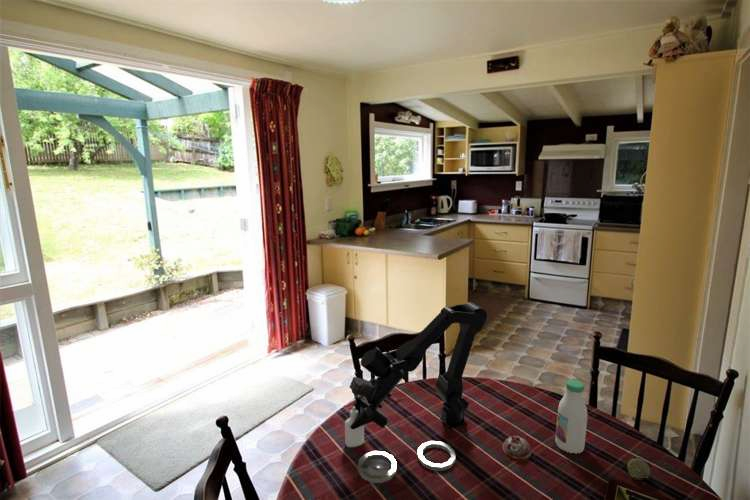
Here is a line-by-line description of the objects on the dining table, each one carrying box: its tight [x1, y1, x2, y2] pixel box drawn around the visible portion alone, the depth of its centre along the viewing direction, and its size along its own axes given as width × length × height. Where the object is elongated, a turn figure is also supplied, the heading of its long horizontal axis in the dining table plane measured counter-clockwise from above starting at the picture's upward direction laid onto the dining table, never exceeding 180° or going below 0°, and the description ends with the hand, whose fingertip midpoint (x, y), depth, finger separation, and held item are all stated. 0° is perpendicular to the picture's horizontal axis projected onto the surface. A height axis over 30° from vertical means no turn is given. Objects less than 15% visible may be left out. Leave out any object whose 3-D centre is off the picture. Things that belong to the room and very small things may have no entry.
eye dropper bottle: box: [344, 406, 365, 448], centre depth 118 cm, size 4×6×12 cm
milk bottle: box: [554, 379, 588, 455], centre depth 115 cm, size 8×8×20 cm
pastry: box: [502, 435, 533, 461], centre depth 115 cm, size 8×8×5 cm
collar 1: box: [357, 450, 398, 484], centre depth 109 cm, size 10×10×1 cm
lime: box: [627, 457, 651, 480], centre depth 105 cm, size 4×5×5 cm
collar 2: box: [417, 440, 457, 472], centre depth 113 cm, size 10×10×1 cm
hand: (349, 424), depth 117 cm, fingers closed on eye dropper bottle, 3 cm apart
